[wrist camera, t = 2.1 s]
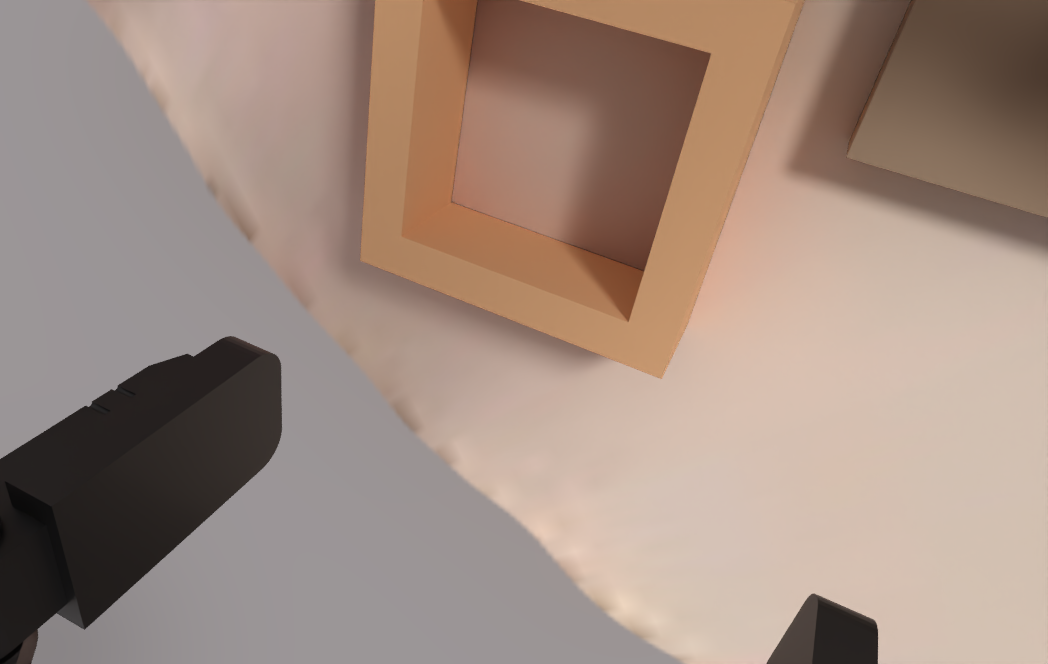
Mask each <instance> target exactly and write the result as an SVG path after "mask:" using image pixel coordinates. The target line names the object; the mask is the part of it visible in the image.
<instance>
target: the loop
mask: <svg viewBox="0 0 1048 664" xmlns="http://www.w3.org/2000/svg"><path fill="white" fill-rule="evenodd" d="M520 1H524V2H528V3H531V4H535V5H538V6H542V7H546V8H549V9H553V10H557V11H560V12H564V13H567V14H571V15H575V16H578V17H582V18H585V19H589V20H593V21H596V22H600V23H603V24H607V25H611V26H614V27H618V28H622V29H625V30H629V31H632V32H636V33H640V34H643V35H647V36H650V37H654V38H658V39H661V40H665V41H668V42H672V43H676V44H679V45H683V46H686V47H690V48H694V49H697V50H701V51H705V52H708V53H711V56H710V60H709V63H708V66H707V69H706V72H705V76H704V79H703V82H702V85H701V89H700V92H699V95H698V98H697V102H696V105H695V108H694V111H693V115H692V118H691V121H690V124H689V128H688V131H687V134H686V137H685V141H684V144H683V147H682V150H681V154H680V157H679V160H678V163H677V167H676V170H675V173H674V176H673V180H672V183H671V186H670V189H669V193H668V196H667V199H666V202H665V206H664V209H663V212H662V215H661V219H660V222H659V225H658V228H657V232H656V235H655V238H654V241H653V244H652V248H651V251H650V254H649V257H648V261H647V264H646V267H645V270H644V271H642V270H639V269H636V268H633V267H631V266H628V265H625V264H622V263H619V262H617V261H614V260H611V259H608V258H605V257H603V256H600V255H597V254H594V253H591V252H589V251H586V250H583V249H580V248H577V247H575V246H572V245H569V244H566V243H563V242H561V241H558V240H555V239H552V238H549V237H547V236H544V235H541V234H538V233H536V232H533V231H530V230H527V229H524V228H522V227H519V226H516V225H513V224H510V223H508V222H505V221H502V220H499V219H496V218H494V217H491V216H488V215H485V214H482V213H480V212H477V211H474V210H471V209H468V208H466V207H463V206H460V205H457V204H454V203H452V202H451V199H452V191H453V184H454V176H455V168H456V161H457V153H458V145H459V138H460V130H461V123H462V115H463V107H464V100H465V92H466V84H467V77H468V69H469V61H470V54H471V46H472V38H473V31H474V23H475V15H476V8H477V0H375V13H374V31H373V48H372V65H371V82H370V100H369V117H368V134H367V151H366V169H365V186H364V203H363V220H362V238H361V255H360V261H362V262H365V263H367V264H370V265H372V266H375V267H377V268H380V269H382V270H385V271H388V272H390V273H393V274H395V275H398V276H400V277H403V278H405V279H408V280H411V281H413V282H416V283H418V284H421V285H423V286H426V287H428V288H431V289H433V290H436V291H439V292H441V293H444V294H446V295H449V296H451V297H454V298H456V299H459V300H461V301H464V302H467V303H469V304H472V305H474V306H477V307H479V308H482V309H484V310H487V311H490V312H492V313H495V314H497V315H500V316H502V317H505V318H507V319H510V320H512V321H515V322H518V323H520V324H523V325H525V326H528V327H530V328H533V329H535V330H538V331H541V332H543V333H546V334H548V335H551V336H553V337H556V338H558V339H561V340H563V341H566V342H569V343H571V344H574V345H576V346H579V347H581V348H584V349H586V350H589V351H591V352H594V353H597V354H599V355H602V356H604V357H607V358H609V359H612V360H614V361H617V362H620V363H622V364H625V365H627V366H630V367H632V368H635V369H637V370H640V371H642V372H645V373H648V374H650V375H653V376H655V377H658V378H660V379H662V377H663V375H664V373H665V371H666V369H667V367H668V365H669V362H670V360H671V358H672V356H673V354H674V352H675V350H676V348H677V346H678V344H679V341H680V339H681V337H682V335H683V333H684V331H685V329H686V326H687V324H688V321H689V318H690V315H691V313H692V310H693V307H694V304H695V302H696V299H697V296H698V293H699V291H700V288H701V285H702V282H703V280H704V277H705V274H706V271H707V269H708V266H709V263H710V260H711V258H712V255H713V252H714V249H715V247H716V244H717V241H718V238H719V236H720V233H721V230H722V227H723V224H724V222H725V219H726V216H727V213H728V211H729V208H730V205H731V202H732V200H733V197H734V194H735V191H736V189H737V186H738V183H739V180H740V178H741V175H742V172H743V169H744V167H745V164H746V161H747V158H748V156H749V153H750V150H751V147H752V145H753V142H754V139H755V136H756V134H757V131H758V128H759V125H760V123H761V120H762V117H763V114H764V112H765V109H766V106H767V103H768V100H769V98H770V95H771V92H772V89H773V87H774V84H775V81H776V78H777V76H778V73H779V70H780V67H781V65H782V62H783V59H784V56H785V54H786V51H787V48H788V45H789V43H790V40H791V37H792V34H793V32H794V29H795V26H796V23H797V21H798V18H799V15H800V12H801V10H802V7H803V4H804V1H805V0H520Z"/></svg>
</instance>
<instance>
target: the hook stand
mask: <svg viewBox="0 0 1048 664" xmlns="http://www.w3.org/2000/svg"><path fill="white" fill-rule="evenodd" d="M846 158H849V159H852V160H856V161H859V162H862V163H866V164H869V165H872V166H876V167H879V168H882V169H886V170H889V171H893V172H896V173H899V174H903V175H906V176H909V177H913V178H916V179H919V180H923V181H926V182H929V183H933V184H936V185H939V186H943V187H946V188H949V189H953V190H956V191H960V192H963V193H966V194H970V195H973V196H976V197H980V198H983V199H986V200H990V201H993V202H996V203H1000V204H1003V205H1006V206H1010V207H1013V208H1016V209H1020V210H1023V211H1027V212H1030V213H1033V214H1037V215H1040V216H1043V217H1047V218H1048V0H911V2H910V4H909V7H908V9H907V11H906V13H905V16H904V18H903V20H902V23H901V25H900V27H899V29H898V32H897V34H896V36H895V39H894V41H893V43H892V45H891V48H890V50H889V52H888V55H887V57H886V59H885V61H884V64H883V66H882V68H881V71H880V73H879V75H878V77H877V80H876V82H875V84H874V86H873V89H872V91H871V93H870V96H869V98H868V100H867V102H866V105H865V107H864V109H863V112H862V114H861V116H860V118H859V121H858V123H857V125H856V128H855V130H854V132H853V134H852V137H851V139H850V141H849V144H848V150H847V156H846Z"/></svg>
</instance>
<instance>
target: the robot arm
mask: <svg viewBox="0 0 1048 664" xmlns="http://www.w3.org/2000/svg"><path fill="white" fill-rule="evenodd" d="M281 407H282V406H281V363H280V360H279V358H278V357H277V356H276V355H275V354H273V353H270V352H268V351H266V350H263V349H261V348H259V347H257V346H254V345H252V344H250V343H247V342H245V341H243V340H240V339H238V338H236V337H232V336H229V337H225V338H222V339H220V340H219V341H217V342H216V343H214V344H212V345H211V346H209V347H208V348H206V349H205V350H203V351H202V352H200V353H199V354H197V355H196V356H194V357H193V356H191V355H189V354H185V355H182V356H179V357H176V358H172V359H170V360H166V361H163V362H160V363H157V364H153V365H151V366H148V367H147V368H145V369H143V370H142V371H140V372H139V373H137V374H135V375H134V376H133V377H131V378H129V379H127V380H126V381H124V382H123V383H121V384H119V385H118V388H117V389H116V390H115V391H114V390H110V391H108V392H107V393H105V394H103V395H102V396H100V397H99V398H97V399H96V400H94V401H92V404H91V406H90V407H87V406H84V407H83V408H81V409H80V410H78V411H76V412H75V413H73V414H72V415H70V416H68V417H67V418H65V419H64V420H62V421H60V422H59V423H57V424H56V425H54V426H52V427H51V428H50V429H48V430H46V431H44V432H43V433H41V434H40V435H38V436H36V437H35V438H33V439H32V440H30V441H28V442H27V443H25V444H24V445H22V446H20V447H19V448H17V449H16V450H14V451H13V452H11V453H9V454H8V455H6V456H5V457H3V458H1V459H0V664H31V663H32V660H33V656H34V653H35V649H36V646H37V641H38V628H39V627H40V626H41V625H43V624H44V623H45V622H46V621H47V620H49V619H50V618H51V617H52V616H53V615H54V614H56V613H57V614H59V615H61V616H62V617H64V618H66V619H67V620H69V621H71V622H73V623H74V624H76V625H78V626H79V627H81V628H83V629H86V628H87V627H88V626H89V625H90V624H91V623H92V622H94V621H95V620H96V619H97V618H98V617H99V616H100V615H101V614H102V613H103V612H105V611H106V610H107V609H108V608H109V607H110V606H111V605H112V604H113V603H114V602H115V601H117V600H118V599H119V598H120V597H121V596H122V595H123V594H124V593H126V592H127V591H128V590H129V589H130V588H131V587H132V586H133V585H134V584H136V582H138V581H139V580H140V579H141V578H142V577H143V576H144V575H145V574H147V573H148V572H149V571H150V570H151V569H152V568H153V567H154V566H155V565H157V563H159V562H160V561H161V560H162V559H163V558H164V557H165V556H166V555H167V554H169V553H170V552H171V551H172V550H173V549H174V548H175V547H176V546H177V545H179V544H180V543H181V542H182V541H183V540H184V539H185V538H186V537H187V536H189V535H190V534H191V533H192V532H193V531H194V530H195V529H196V528H197V527H198V526H200V525H201V524H202V523H203V522H204V521H205V520H206V519H207V518H208V517H210V516H211V515H212V514H213V513H214V512H215V511H216V510H217V509H218V508H219V507H221V506H222V505H223V504H224V503H225V502H226V501H227V500H228V499H229V498H231V496H233V495H234V494H235V493H236V492H237V491H238V490H239V489H240V488H242V487H243V486H244V485H245V484H246V483H247V482H248V481H249V480H250V479H251V478H252V477H254V476H255V475H256V474H257V473H258V472H259V471H260V470H261V469H262V468H263V467H264V466H265V465H266V464H267V463H268V462H269V460H270V459H271V457H272V455H273V454H274V452H275V450H276V448H277V446H278V444H279V441H280V437H281V432H282V413H281V412H282V408H281ZM767 664H878V629H877V624H876V622H875V621H874V620H873V619H871V618H869V617H866V616H864V615H862V614H859V613H857V612H855V611H853V610H850V609H848V608H846V607H844V606H841V605H839V604H837V603H834V602H832V601H830V600H828V599H825V598H823V597H821V596H819V595H816V594H811V595H810V596H809V597H808V598H807V600H806V601H805V603H804V604H803V606H802V607H801V609H800V611H799V612H798V614H797V615H796V617H795V618H794V620H793V622H792V623H791V625H790V626H789V628H788V630H787V631H786V633H785V634H784V636H783V638H782V639H781V641H780V642H779V644H778V645H777V647H776V649H775V650H774V652H773V653H772V655H771V657H770V658H769V660H768V662H767Z"/></svg>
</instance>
